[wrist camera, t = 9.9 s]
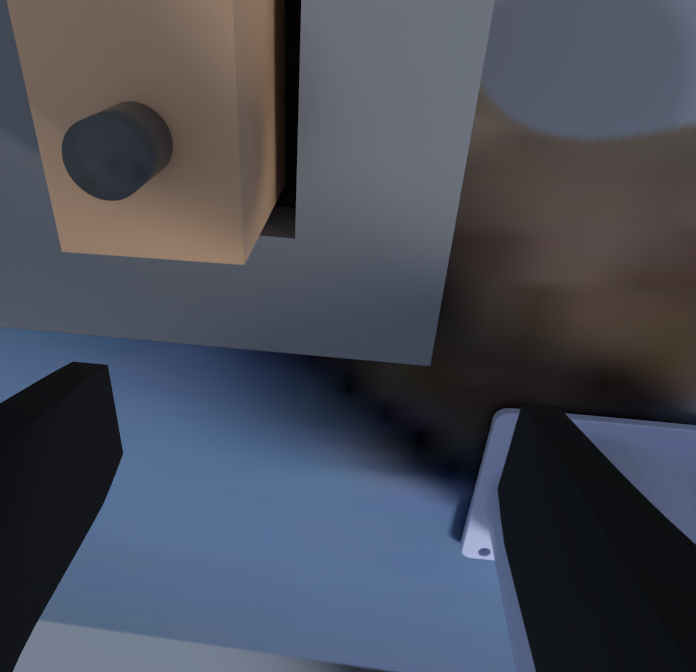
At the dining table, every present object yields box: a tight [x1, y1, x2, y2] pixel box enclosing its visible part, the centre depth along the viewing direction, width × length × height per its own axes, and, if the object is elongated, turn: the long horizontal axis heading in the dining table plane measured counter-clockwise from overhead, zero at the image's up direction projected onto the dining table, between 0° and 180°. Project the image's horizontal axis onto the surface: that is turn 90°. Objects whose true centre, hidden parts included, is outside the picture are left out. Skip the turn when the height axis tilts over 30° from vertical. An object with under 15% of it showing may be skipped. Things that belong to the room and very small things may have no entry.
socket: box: [0, 0, 495, 366], centre depth 15 cm, size 14×14×2 cm
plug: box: [7, 0, 285, 265], centre depth 13 cm, size 4×5×8 cm
